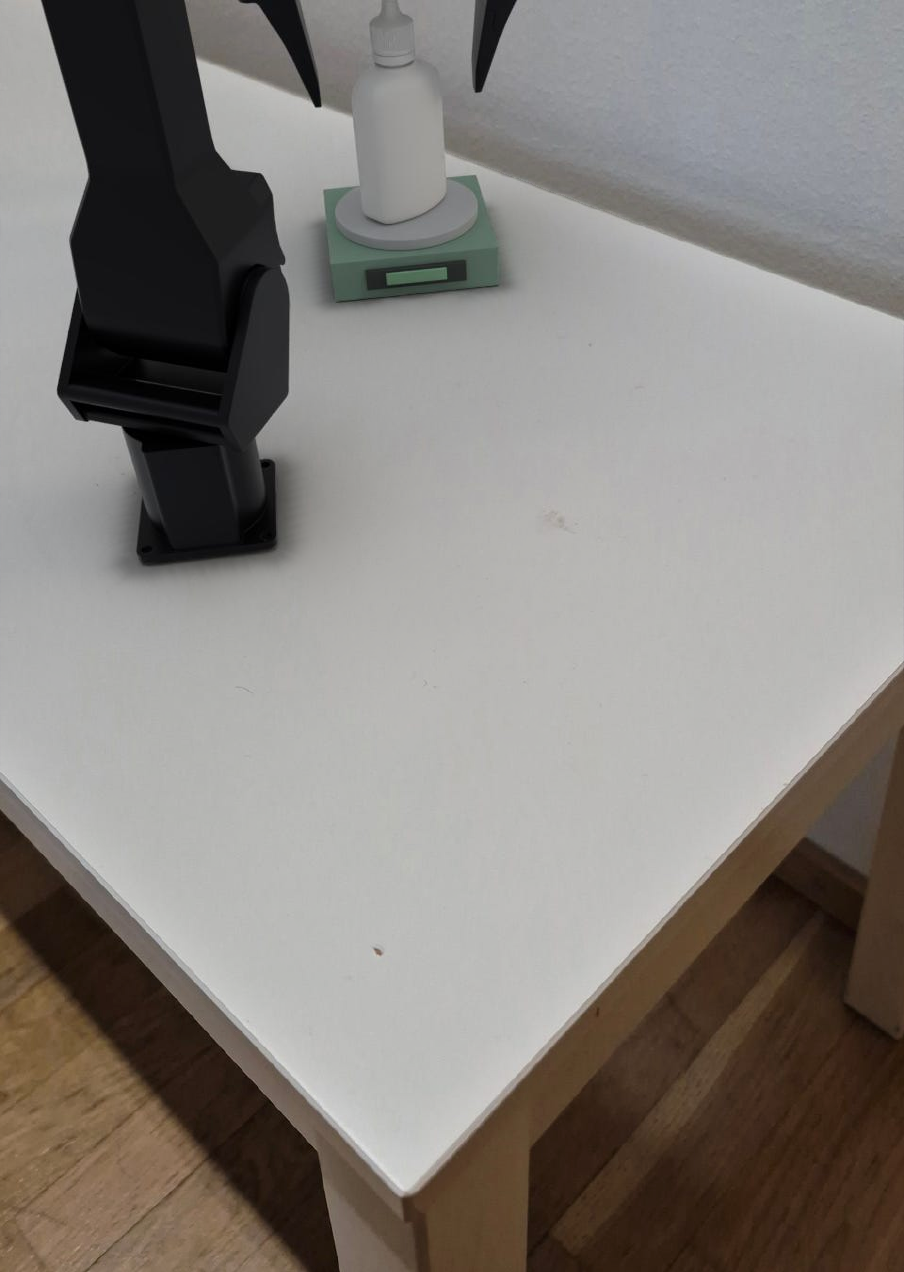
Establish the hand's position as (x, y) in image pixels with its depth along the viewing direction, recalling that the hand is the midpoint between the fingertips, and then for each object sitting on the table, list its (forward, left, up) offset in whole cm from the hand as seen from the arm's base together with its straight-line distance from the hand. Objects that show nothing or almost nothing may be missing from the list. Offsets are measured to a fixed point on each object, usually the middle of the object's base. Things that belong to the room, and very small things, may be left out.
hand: (398, 97), depth 67 cm
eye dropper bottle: (0, 0, -7) cm, 7 cm away
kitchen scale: (0, 0, -10) cm, 10 cm away
